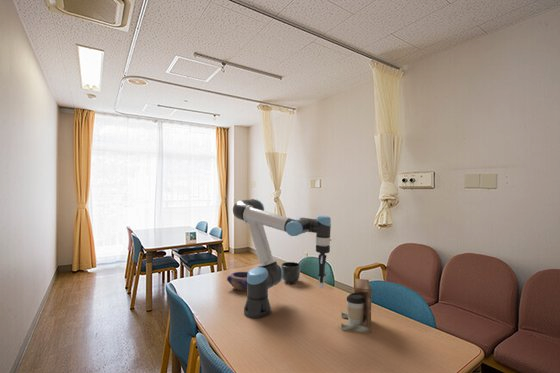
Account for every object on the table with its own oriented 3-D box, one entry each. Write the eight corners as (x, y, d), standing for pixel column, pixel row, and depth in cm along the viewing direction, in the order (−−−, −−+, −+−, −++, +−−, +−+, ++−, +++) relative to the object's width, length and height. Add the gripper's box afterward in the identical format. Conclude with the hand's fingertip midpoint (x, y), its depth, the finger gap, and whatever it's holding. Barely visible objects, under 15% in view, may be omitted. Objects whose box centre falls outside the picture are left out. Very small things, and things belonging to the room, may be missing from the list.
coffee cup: (365, 330, 137) (365, 299, 137) (346, 328, 139) (346, 298, 139) (363, 321, 146) (363, 292, 146) (346, 319, 148) (346, 291, 148)
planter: (300, 285, 199) (300, 267, 199) (281, 285, 199) (281, 267, 199) (299, 278, 213) (299, 262, 213) (281, 278, 213) (281, 261, 213)
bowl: (261, 286, 196) (261, 272, 196) (244, 295, 181) (244, 279, 181) (241, 282, 206) (241, 268, 206) (224, 289, 191) (224, 275, 191)
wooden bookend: (341, 329, 137) (341, 286, 137) (341, 316, 151) (341, 277, 151) (371, 333, 134) (371, 289, 134) (368, 319, 148) (368, 279, 148)
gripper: (329, 247, 144) (327, 293, 144) (330, 242, 157) (329, 284, 157) (314, 246, 146) (313, 291, 146) (317, 241, 158) (315, 282, 159)
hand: (321, 287), depth 152 cm, fingers closed
